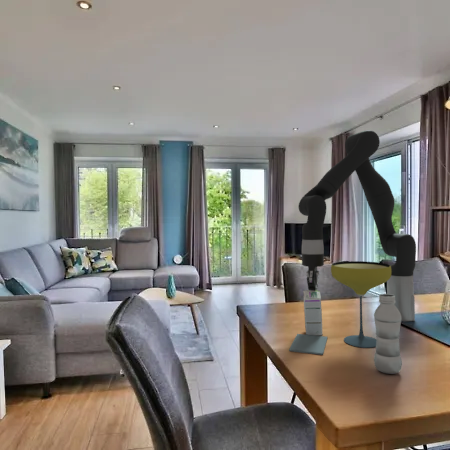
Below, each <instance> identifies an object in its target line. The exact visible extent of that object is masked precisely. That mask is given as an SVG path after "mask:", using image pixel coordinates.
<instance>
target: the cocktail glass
mask: <svg viewBox="0 0 450 450" xmlns="http://www.w3.org/2000/svg"><path fill="white" fill-rule="evenodd" d="M391 266H392V265H391V264H388V263H383V262H375V261H365V260H364V261H357V260H352V261H350V260H349V261H337V262H333V263H332V264H331V266H330V273H331V276H332V278H334V279H335V281H337V282H339V283H340V284H342V285H345V286H347V287H348V288H349V289H352V290H353V291H354V293H355V294H356V295H357V296H358V297H359V334H358V335H357V334H354V335H353V334H352V335H348V336H345V337H344V338H343V341H344V343H345V344H347V345H349V346H351V345H352V346H353V347H356V348H363V349H370V348H373V349H374V348H376V340H377V339H376V338H374V337H372V336H368V335H364V334H365V333H364V330H363V328H364V327H363V298H362V297H364V296H365V295H366V294H367V293H368V292H369V291H370V290H371V289H374V288H376V287H379V286H381V285H383V284H385V283H387V281H388V280H389V279H390V277H391ZM352 346H351V347H352Z"/></svg>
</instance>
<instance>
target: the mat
mask: <svg viewBox="0 0 450 450" xmlns="http://www.w3.org/2000/svg"><path fill="white" fill-rule="evenodd" d="M327 341H328V336H324V335H306V333H305V334H302V333H297V334H296V335H295V338H293V341H292V343H291V345H290V347H289V349H288V351H289V352H295V353H300V354H301V353H303V354H309V355H310V354H312V355H318V356H319V355H320V356H324V353H325V348H326V345H327Z"/></svg>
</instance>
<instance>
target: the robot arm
mask: <svg viewBox="0 0 450 450" xmlns="http://www.w3.org/2000/svg"><path fill="white" fill-rule="evenodd" d="M380 142H381V141H380V137H379V135H378V133H376V132H375V131H374V130H369V129H367V130H363V131H360V132H357V133H354V134H351V135H349V136H347V138H346V140H345V142H344V148H345V152H346V156H345V157H343V158H342V159H341V160H340V161H339V162H338V163H336V164H335V165H333V166H332V167H331V168H330V169H329V170H328V171H327V172H326V173H325V174H324V175H323V176H322V178H321V179H320V180H319V181H318V183H317V184H316V185H315V186H313V187H312V188H311V189H310V190H308V192H307V193H306V194H304V195H303V196H302V197H301V198H300V200H299V202H298V210H299V211H298V212H299V213H300V214H301V215H303V216H306V217H307V220H306V222H305V223H303V225H302V228H301V229H302V230H301V231H302V233H301V234H302V236H301V237H302V238H301V240H302V241H301V265H302V266H303V267H307V268H308V270H307V271H306V283H307V290H318V287H319V285H318V284H319V281H320V280H319V276H320V270H318V268H319V267H324V263H325V261H324V260H325V259H324V258H325V254H324V252H325V250H324V247H325V246H324V235H323V233H324V232H323V229H324V228H323V227H324V223H325V219H326V214H327V202H326V200H329V199H331V198H333V197H334V195H336V193H337V192H338V191H339V189H340V188H341V187H342V186H343V184H344V183H345V182H346V181H347V180H348V178H349V177H350V176H351V175H353V174H354V172H355V174H356V175H357V178H358V181H359V183H360V185H361V188H362V191H363V193H364V197H365V200H366V201H367V205H368V207H369V209H370V211H371V214H372V217H373V221H374V223H375V226H376V230H377V234H378V237H379V242H380V245H381V248H382V251H383V252H384V254H386V255H387V256H389V257H394V258H395V262H394V264H391V265H390V266H391V277H390V279H389V280H388V281H386V294H391V295H394V296H395V304H394V305H395V306H396V308H397V309H398V310H399V312H400V314H401V322H415V321H416V316H415V313H416V311H415V310H416V309H415V305H416V304H415V303H416V302H415V295H414V270H415V267H416V257H417V254H416V253H417V243H416V241H415V238H414V237H413V235H411V234H407V233H397V232H396V230H395V228H394V224H393V215H394V209H395V198H394V195H393V191H392V189H391V185H390V184H389V183H388V182H387V180H386V179H385V178H384V177H383V175H381V174H380V173H379V172H378V171H377V170H376V169H375V167H374V166H373V164H372V163H371V161H370V157H371V156H373V155H375V153H376V152H377V150H378V149H379V147H380Z"/></svg>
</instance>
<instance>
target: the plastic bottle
mask: <svg viewBox="0 0 450 450" xmlns="http://www.w3.org/2000/svg"><path fill="white" fill-rule="evenodd" d="M378 296H379V298H378V302H379V304H378V306H377V308H376V309H375V311H374V312H373V313H374V314H373V319H374V324H375V325H374V326H375V334H376V338H375V339H377V340H376V347H375V352H374V357H373V362H374V367H375V368H376V370H377V371H379V372H381V373H383V374H387V375H388V374H390V375H394V374H398V373H400V371H401V370H402V366H403V362H402V356H401V351H400V330H401V323H402V321H401V314H400V312H399V310H398V309H397V308H396V306H395V305H394V304H395V296H394V295H391V294H387V293H381V294H379V295H378Z"/></svg>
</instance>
